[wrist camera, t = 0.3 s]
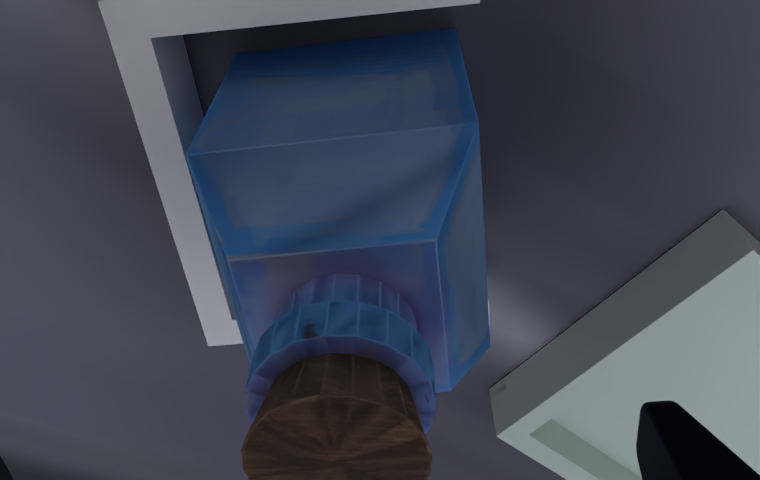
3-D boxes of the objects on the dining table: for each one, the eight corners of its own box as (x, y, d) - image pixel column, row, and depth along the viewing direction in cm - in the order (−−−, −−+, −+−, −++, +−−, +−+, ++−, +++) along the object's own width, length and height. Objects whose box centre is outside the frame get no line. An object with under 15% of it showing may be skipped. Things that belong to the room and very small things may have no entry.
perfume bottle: (280, 234, 24) (203, 579, 14) (236, 53, 20) (93, 339, 11) (467, 216, 23) (526, 558, 13) (455, 27, 20) (522, 301, 10)
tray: (964, 430, 29) (1005, 478, 27) (737, 549, 33) (758, 598, 31) (723, 208, 23) (753, 249, 21) (488, 389, 28) (496, 436, 26)
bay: (481, 276, 25) (489, 324, 23) (223, 297, 25) (208, 346, 23) (468, -65, 19) (478, -41, 17) (128, -26, 19) (97, 1, 17)
